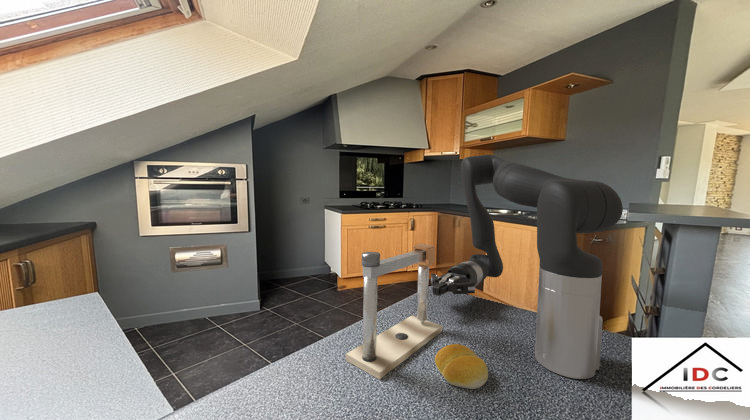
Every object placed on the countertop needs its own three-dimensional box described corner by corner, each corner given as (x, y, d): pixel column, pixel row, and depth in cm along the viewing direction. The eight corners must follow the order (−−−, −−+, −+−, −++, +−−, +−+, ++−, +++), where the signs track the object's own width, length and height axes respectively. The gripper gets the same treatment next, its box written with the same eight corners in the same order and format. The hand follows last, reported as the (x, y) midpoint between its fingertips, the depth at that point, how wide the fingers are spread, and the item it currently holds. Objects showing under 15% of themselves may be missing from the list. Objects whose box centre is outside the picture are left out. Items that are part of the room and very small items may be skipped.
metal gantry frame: (421, 317, 68) (423, 238, 66) (433, 321, 65) (436, 240, 64) (356, 358, 51) (358, 253, 50) (370, 365, 49) (371, 256, 47)
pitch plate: (411, 320, 69) (412, 314, 69) (442, 331, 64) (442, 325, 64) (345, 360, 52) (345, 353, 52) (379, 379, 47) (379, 371, 47)
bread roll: (454, 396, 44) (455, 371, 43) (428, 362, 52) (429, 341, 52) (500, 386, 46) (501, 363, 46) (468, 355, 54) (468, 335, 54)
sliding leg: (418, 316, 67) (420, 243, 66) (433, 322, 64) (435, 245, 63) (411, 321, 65) (412, 245, 64) (426, 326, 62) (428, 247, 61)
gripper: (444, 259, 86) (412, 270, 73) (489, 267, 77) (462, 282, 64) (443, 283, 86) (412, 299, 73) (487, 294, 78) (461, 314, 65)
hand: (435, 291), depth 69 cm, fingers closed
